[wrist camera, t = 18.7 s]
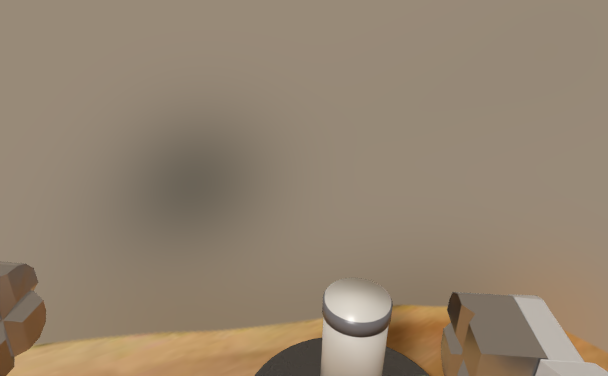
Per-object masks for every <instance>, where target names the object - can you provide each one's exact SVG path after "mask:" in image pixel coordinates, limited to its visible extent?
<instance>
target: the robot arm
mask: <svg viewBox="0 0 608 376" xmlns="http://www.w3.org/2000/svg"><path fill="white" fill-rule="evenodd" d="M37 284H38V280H37V277H36V274H35V271H34V268H32V267H30V266H29V265H27V264H23V263H11V262H0V376H6V375H7V374H8V373H9V372H10V371H11V370H12V369H13V367H14V357H15V356H17V355H19V354H21V353H23V352H24V351H26V350H28V349H30V348H31V347H32V346H33V344H34V343H35V342H36V341H37V340H38V338H39V337H40V335H41V333H42V330H43V327H44V325H45V322H46V309H45V305H44V301H43V300H42V299H41V298H40V297H39V296H38V295H37V294H36V293H35V292H34V289H35V287H36V285H37ZM447 311H448V314H449V317H450V320H451V323H450V324H448V325H447V326H446V327H445V328H444V329H443V335H442V341H441V360H442V367H443V372H444V376H608V372H607V371H606V370H604V369H603V368H601V367H600V366H598V365H596V364H595V363H585V362H584V360H583V359H582V357H581V356H580V354H579V353H578V351H577V350H576V348H575V347H574V345H573V344H572V342H571V341H570V339H569V338H568V336H567V335H566V333H565V332H564V331H563V329H562V328H561V326H560V325H559V323H558V322H557V320H556V319H555V317H554V316H553V314H552V313H551V311H550V310H549V308H548V307H547V305H546V304H545V302H544V301H543V299H541V298H540V297H538V296H533V295H493V294H474V293H458V292H453V293H452V295H451V297H450V299H449V304H448V308H447Z"/></svg>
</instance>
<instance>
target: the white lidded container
mask: <svg viewBox="0 0 608 376" xmlns="http://www.w3.org/2000/svg"><path fill="white" fill-rule="evenodd" d="M392 306H393V304H392V299H391V297H390V295H389V293H388V292H387V291H386V290H385V289H384V288H383V287H382V286H380V285H379V284H377V283H375V282H373V281H370V280H367V279H362V278H345V279H341V280H338V281H336V282H334V283H332V284H331V285H330V286H329V287H328V288H327V289H326V291H325V292H324V295H323V311H322V312H323V336H322V355H321V374H320V376H382V371H383V364H384V356H385V348H386V341H387V333H388V326H389V324H390V321H391V313H392Z"/></svg>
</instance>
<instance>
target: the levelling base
mask: <svg viewBox="0 0 608 376" xmlns="http://www.w3.org/2000/svg"><path fill="white" fill-rule="evenodd" d="M321 355H322V338H317V339H312V340H308V341H304V342H301V343H298V344H296V345H293V346H291V347H289V348H287V349H285V350H283V351H281V352H280V353H278V354H277V355H275V356H274V357H272V358H271V359H270V360H269V361H268V362H267V363H265V364H264V365H263V366H262V368H261V369H260V370H259V371H258V372H257V373H256V375H255V376H320V374H321ZM382 376H429V375H428V374H427V373H426V372H425V371H424V370H423V369H422V368H421V367H419V366H418V365H417V364H416V363H414V362H413V361H412V360H410V359H408V358H407V357H405V356H404V355H402V354H400V353H399V352H397V351H395V350H393V349H391V348H388V347H386V348H385V356H384V364H383V371H382Z"/></svg>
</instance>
